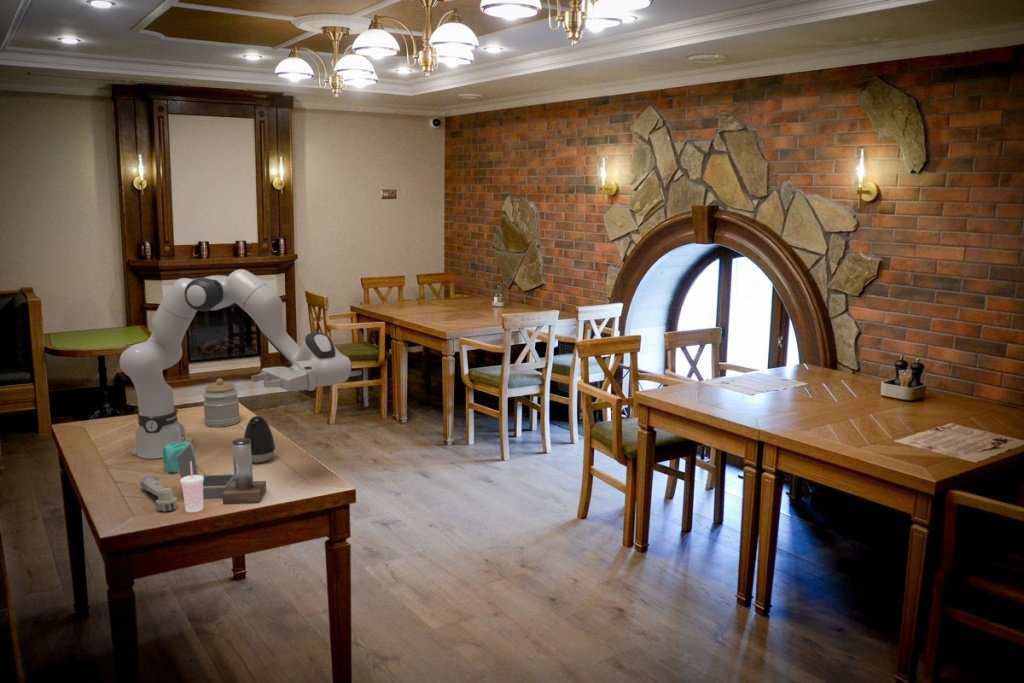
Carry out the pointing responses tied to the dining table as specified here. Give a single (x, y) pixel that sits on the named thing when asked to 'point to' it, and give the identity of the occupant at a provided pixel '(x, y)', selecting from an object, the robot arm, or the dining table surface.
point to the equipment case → (209, 480)
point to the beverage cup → (193, 491)
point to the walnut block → (244, 493)
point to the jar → (221, 404)
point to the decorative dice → (174, 455)
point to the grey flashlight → (159, 493)
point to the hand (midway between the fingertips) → (258, 381)
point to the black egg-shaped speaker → (260, 439)
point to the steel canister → (242, 464)
